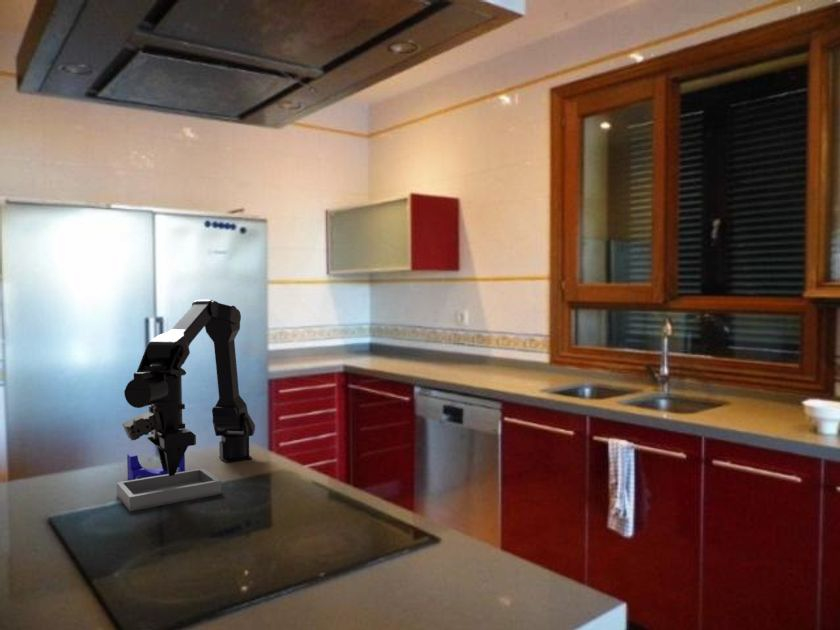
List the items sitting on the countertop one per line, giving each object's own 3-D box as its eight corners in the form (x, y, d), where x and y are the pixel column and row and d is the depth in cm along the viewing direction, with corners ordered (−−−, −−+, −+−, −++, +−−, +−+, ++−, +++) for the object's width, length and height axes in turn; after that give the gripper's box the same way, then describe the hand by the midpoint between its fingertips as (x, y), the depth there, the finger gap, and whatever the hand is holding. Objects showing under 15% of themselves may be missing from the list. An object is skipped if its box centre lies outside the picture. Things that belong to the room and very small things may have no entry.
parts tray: (203, 481, 146) (203, 468, 146) (221, 494, 137) (221, 480, 137) (116, 496, 136) (116, 482, 136) (129, 512, 126) (129, 497, 126)
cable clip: (132, 484, 145) (132, 457, 145) (127, 479, 148) (127, 453, 148) (187, 474, 152) (186, 449, 152) (180, 470, 156) (180, 446, 156)
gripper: (116, 397, 138) (117, 469, 139) (136, 410, 123) (138, 491, 124) (170, 392, 145) (171, 461, 145) (196, 404, 130) (197, 481, 130)
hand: (168, 473), depth 136 cm, fingers open, 4 cm apart
